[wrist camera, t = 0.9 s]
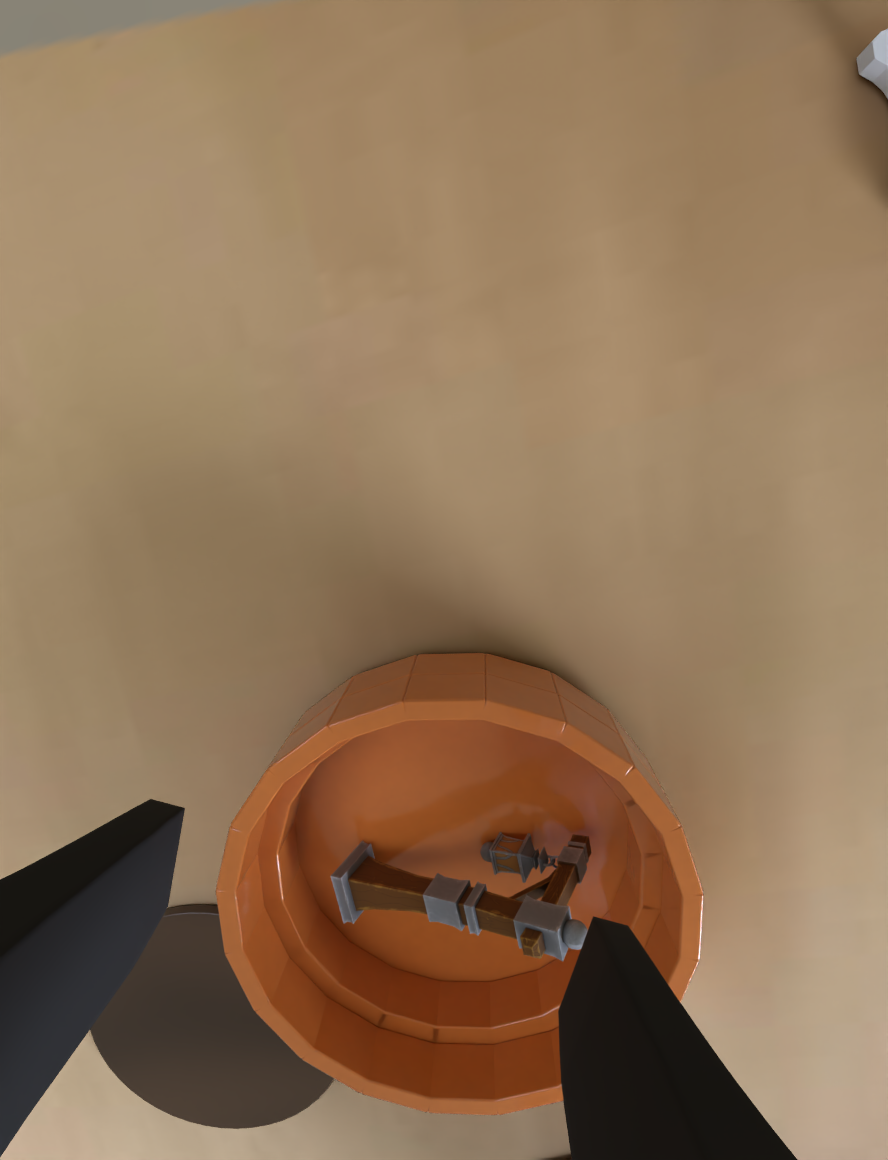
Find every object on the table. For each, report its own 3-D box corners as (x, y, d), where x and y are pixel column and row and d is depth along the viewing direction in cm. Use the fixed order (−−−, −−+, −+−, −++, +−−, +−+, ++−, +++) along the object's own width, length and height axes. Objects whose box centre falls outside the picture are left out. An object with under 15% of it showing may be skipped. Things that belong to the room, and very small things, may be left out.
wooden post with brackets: (621, 871, 19) (585, 992, 15) (410, 838, 23) (339, 929, 19) (613, 821, 19) (574, 933, 15) (400, 797, 23) (326, 880, 19)
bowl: (708, 946, 21) (758, 1058, 17) (353, 1034, 23) (327, 1154, 19) (589, 591, 19) (618, 629, 15) (202, 721, 21) (137, 786, 17)
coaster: (386, 1087, 24) (385, 1098, 23) (161, 1140, 25) (156, 1151, 24) (284, 873, 22) (280, 881, 21) (47, 943, 23) (40, 951, 23)
